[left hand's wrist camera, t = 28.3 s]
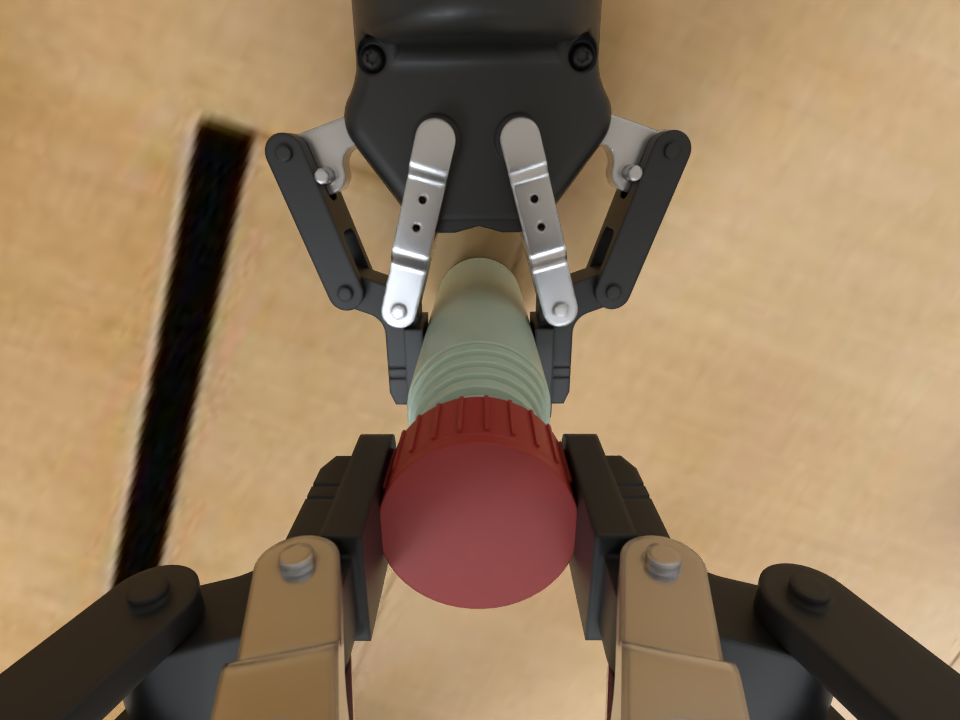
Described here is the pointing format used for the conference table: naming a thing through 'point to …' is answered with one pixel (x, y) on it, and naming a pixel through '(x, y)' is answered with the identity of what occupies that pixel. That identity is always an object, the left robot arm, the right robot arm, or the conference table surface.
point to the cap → (478, 504)
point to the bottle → (479, 343)
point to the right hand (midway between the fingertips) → (480, 407)
